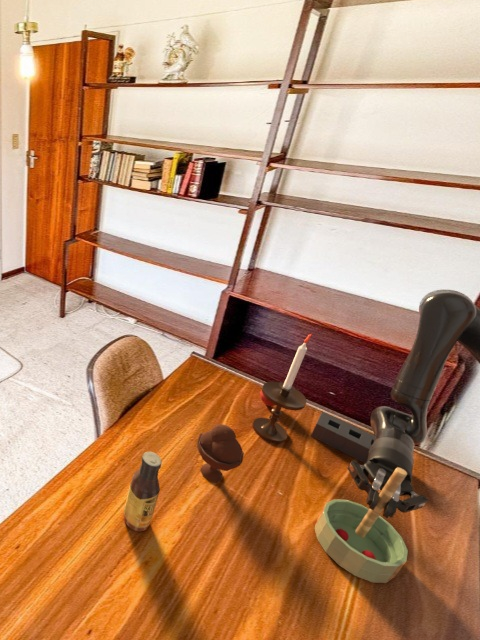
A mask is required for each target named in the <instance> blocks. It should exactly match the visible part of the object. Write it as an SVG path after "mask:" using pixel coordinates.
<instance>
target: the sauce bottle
mask: <svg viewBox="0 0 480 640" xmlns="http://www.w3.org/2000/svg"><path fill="white" fill-rule="evenodd" d="M162 464H163V463H162V458H161V457H160V456H159V454H158V453H155V452H153V451H145V452H144V453H142V456H141V464H140V467H139V469H137V470H136V471H134V472H133V475H132V478H131V481H130V483H129V488H128V491H127V496H126V500H125V504H124V508H123V520H124V523H125V524H126V525H127V527H128V528H130V530H132V531H134V532H138V533H139V532H144V531H146V530H147V529H148V528H149V526H150V524H151V523H152V519H153V516H154V513H155V509H156V506H157V503H158V499H159V495H160V491H161V488H160V483H159V482H160V481H159V478H158V477H159V470H160V469H161V467H162Z"/></svg>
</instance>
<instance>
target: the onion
mask: <svg viewBox="0 0 480 640" xmlns="http://www.w3.org/2000/svg"><path fill="white" fill-rule="evenodd" d="M259 398H260V399H261V401H262V402H263V404H264V405H265V406H267V407H276V405H275V404H273V403H272V402H270V401H269V400H268V399H267V398H266V397H265V396H264V395H263V393H262V389H261V390H260V391H259Z"/></svg>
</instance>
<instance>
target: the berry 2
mask: <svg viewBox="0 0 480 640" xmlns="http://www.w3.org/2000/svg"><path fill="white" fill-rule="evenodd" d="M362 554H363V555H365V556H367V557H369V558H372V559H375V560H376V558H375V556H374V554H373V553H372V552H370V551H367V550H364V551H362Z"/></svg>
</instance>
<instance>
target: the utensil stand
mask: <svg viewBox="0 0 480 640" xmlns="http://www.w3.org/2000/svg"><path fill="white" fill-rule="evenodd" d="M310 437H311V438H314V439H316V440H318V441H320V442H322V443H324V444H326V445H327V446H329V447H331V448H333V449H335V450H337V451H339V452H340V453H341V452H342V453H344V454H345V455H348V456H349V457H352V458H353V459H356V461H358V462H362V464H363V463H364V464H365V463H367V459H368V455H369V454H368V453H369V450H370V448H371V446H372V444H373V443H374V439H375V435H374V434H372V433H370V432H368V431H366V430H364V429H362V428H360V427H356V426H355V425H354V424H353V425H352V424H350V423H349V422H346V421H344V420H342V419H340V418H337V417H336V416H334V415H331V414H328V413H326V412H325V411H321V413H320V415H319V417H318V419H317V421H316V423H315V425H314V428H313V429H312V432H311V434H310Z"/></svg>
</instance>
